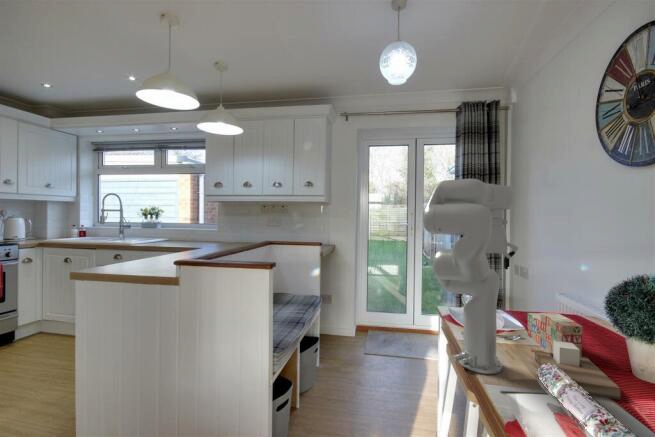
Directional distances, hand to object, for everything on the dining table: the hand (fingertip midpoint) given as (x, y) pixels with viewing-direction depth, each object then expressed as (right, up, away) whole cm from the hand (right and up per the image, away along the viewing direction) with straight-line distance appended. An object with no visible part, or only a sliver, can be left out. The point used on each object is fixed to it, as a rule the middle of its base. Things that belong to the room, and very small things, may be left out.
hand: (491, 268), depth 113 cm
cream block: (+12, -28, -20) cm, 36 cm away
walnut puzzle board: (+11, -29, -25) cm, 39 cm away
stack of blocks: (+20, -29, -4) cm, 35 cm away
